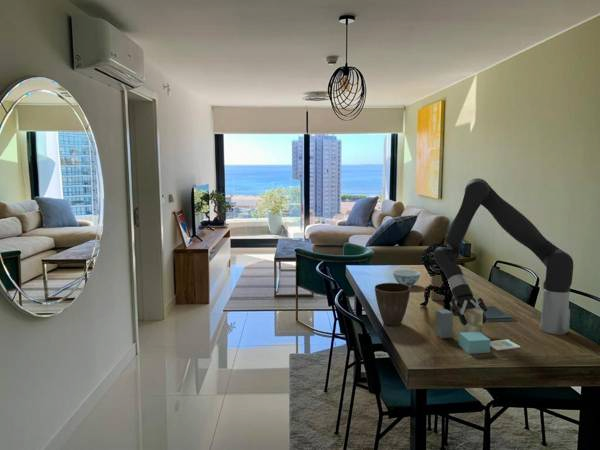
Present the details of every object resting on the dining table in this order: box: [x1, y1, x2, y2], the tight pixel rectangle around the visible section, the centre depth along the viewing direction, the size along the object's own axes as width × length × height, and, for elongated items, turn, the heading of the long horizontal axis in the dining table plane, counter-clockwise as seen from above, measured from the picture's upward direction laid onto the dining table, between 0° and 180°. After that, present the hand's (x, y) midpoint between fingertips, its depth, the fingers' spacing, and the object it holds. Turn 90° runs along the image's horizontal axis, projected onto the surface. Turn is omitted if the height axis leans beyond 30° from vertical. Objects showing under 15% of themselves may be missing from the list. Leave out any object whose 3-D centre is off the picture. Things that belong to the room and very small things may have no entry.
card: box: [490, 339, 521, 351], centre depth 163 cm, size 10×7×1 cm
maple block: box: [464, 309, 483, 334], centre depth 173 cm, size 4×4×10 cm
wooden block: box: [430, 275, 444, 302], centre depth 222 cm, size 10×10×20 cm
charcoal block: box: [435, 309, 454, 339], centre depth 172 cm, size 4×4×10 cm
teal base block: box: [458, 331, 491, 355], centre depth 160 cm, size 8×8×5 cm
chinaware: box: [392, 269, 421, 288], centre depth 247 cm, size 15×15×8 cm
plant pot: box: [374, 282, 411, 327], centre depth 186 cm, size 15×15×16 cm
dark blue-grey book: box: [475, 305, 518, 323], centre depth 198 cm, size 20×2×15 cm
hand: (475, 323), depth 172 cm, fingers open, 8 cm apart
